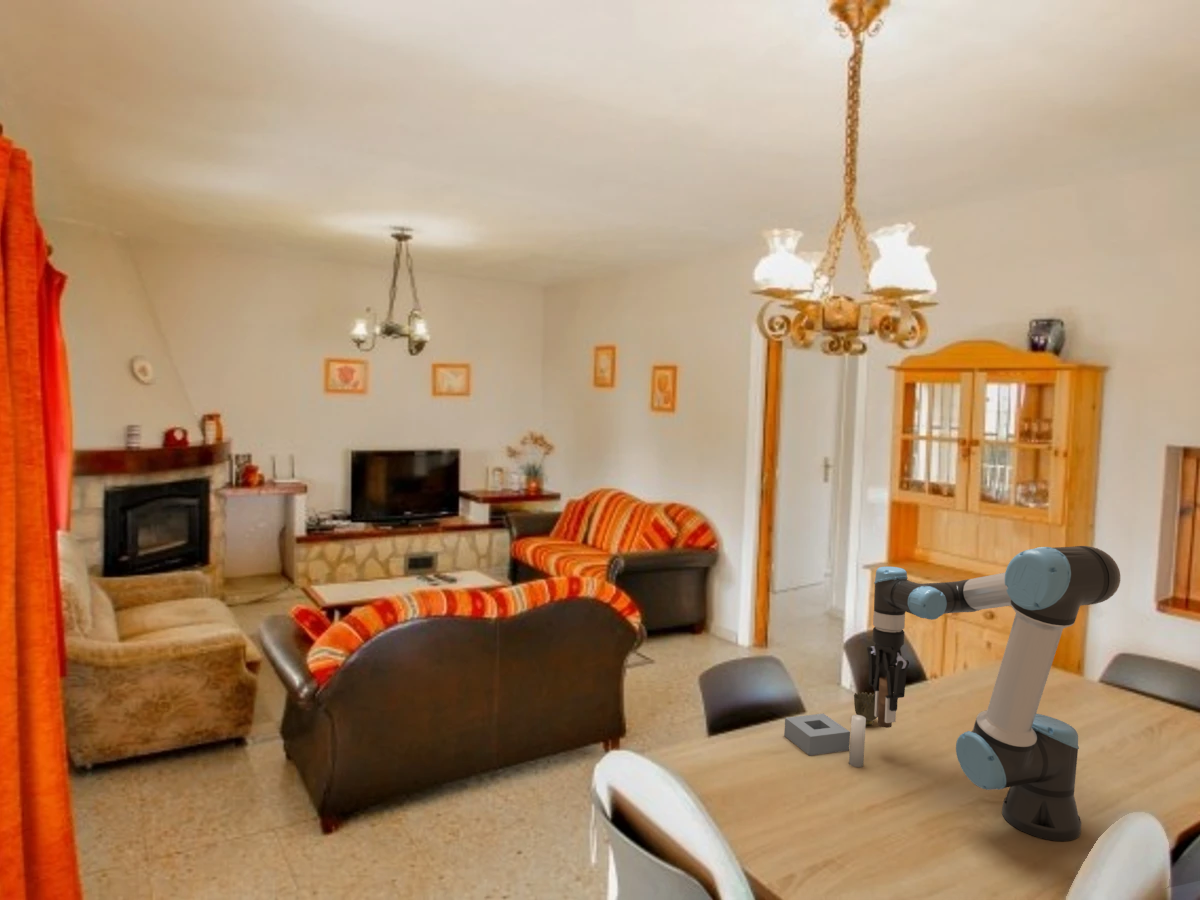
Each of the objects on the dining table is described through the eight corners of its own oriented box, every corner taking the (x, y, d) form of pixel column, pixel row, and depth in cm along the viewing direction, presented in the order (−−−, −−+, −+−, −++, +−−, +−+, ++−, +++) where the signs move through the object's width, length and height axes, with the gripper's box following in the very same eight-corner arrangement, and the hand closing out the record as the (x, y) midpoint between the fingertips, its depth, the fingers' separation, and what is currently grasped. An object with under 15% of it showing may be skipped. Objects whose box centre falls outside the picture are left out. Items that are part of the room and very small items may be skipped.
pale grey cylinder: (866, 766, 199) (868, 719, 198) (854, 767, 198) (857, 721, 197) (857, 760, 202) (860, 714, 201) (846, 761, 201) (848, 715, 200)
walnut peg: (894, 726, 202) (896, 680, 201) (883, 728, 201) (885, 681, 200) (885, 721, 205) (887, 676, 205) (874, 723, 204) (876, 677, 204)
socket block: (849, 750, 207) (850, 731, 207) (809, 755, 203) (810, 736, 203) (822, 731, 219) (823, 713, 218) (784, 735, 215) (785, 717, 214)
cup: (883, 730, 220) (885, 702, 220) (857, 729, 221) (858, 701, 220) (875, 719, 228) (876, 692, 227) (849, 718, 228) (850, 690, 227)
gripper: (923, 636, 195) (919, 729, 196) (880, 619, 211) (876, 705, 212) (898, 638, 193) (893, 733, 194) (856, 620, 208) (852, 708, 210)
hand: (884, 718), depth 203 cm, fingers closed on walnut peg, 3 cm apart
